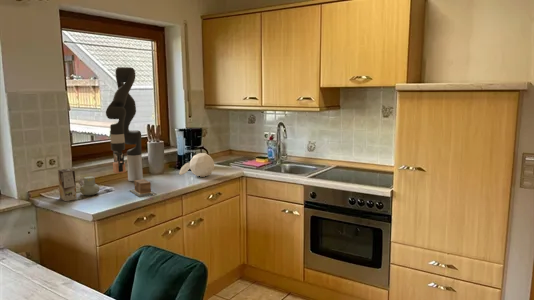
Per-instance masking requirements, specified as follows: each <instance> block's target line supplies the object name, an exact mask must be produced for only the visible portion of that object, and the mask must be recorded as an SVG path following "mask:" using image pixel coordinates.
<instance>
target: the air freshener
mask: <svg viewBox="0 0 534 300" xmlns="http://www.w3.org/2000/svg"><path fill="white" fill-rule="evenodd" d="M79 191H80V193H81V194H82V195H83V196H86V195H88V196H94V195H96V194H98V193H99V192H100V186H99V185H98V184H97V183H96V178H95V176H85V177H83V184H82V185H81V186H80V187H79Z"/></svg>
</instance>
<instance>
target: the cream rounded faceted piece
mask: <svg viewBox="0 0 534 300" xmlns="http://www.w3.org/2000/svg"><path fill="white" fill-rule="evenodd" d="M214 169H215V160H214V159H213V158H212V157H211V155H209V154H208V153H206V152H199V153H196V154H195V155H193V156H192V158H191V159H190V161H189V162H186V163H184V165H182V166H181V168H180V169H179V173H178V175H179V176H181V175H184V174H186V173H187V172H188V171H190V170H191V172H192V174H194V175H195V176H197V177H198V176H200V177H199V178H202V177H203V178H205V176H206V177H207V176H209V175H211V174H212V173H213V171H214Z"/></svg>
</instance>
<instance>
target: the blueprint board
mask: <svg viewBox="0 0 534 300" xmlns="http://www.w3.org/2000/svg"><path fill="white" fill-rule="evenodd" d="M129 192H130V193H132V194H134V195H135V196H136V197H138V198H143V197H149V195H151V196H154V195H153V194H156V195H157V192H154V191H153V190H151V192H150V193H143V194H140V193H138V192H137V191H135V188H133V189H129Z"/></svg>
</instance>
